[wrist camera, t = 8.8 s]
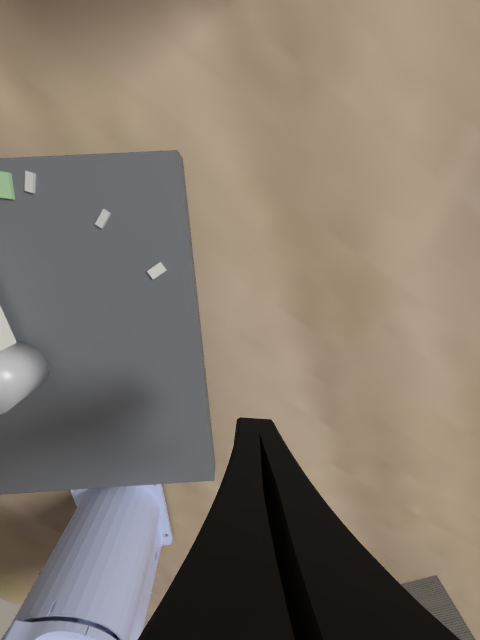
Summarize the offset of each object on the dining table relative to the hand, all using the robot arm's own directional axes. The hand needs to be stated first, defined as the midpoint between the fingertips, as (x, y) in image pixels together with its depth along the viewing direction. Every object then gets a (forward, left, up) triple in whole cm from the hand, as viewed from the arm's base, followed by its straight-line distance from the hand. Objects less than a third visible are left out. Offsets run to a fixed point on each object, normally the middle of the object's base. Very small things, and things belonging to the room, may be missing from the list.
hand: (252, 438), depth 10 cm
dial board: (0, +15, -9) cm, 18 cm away
